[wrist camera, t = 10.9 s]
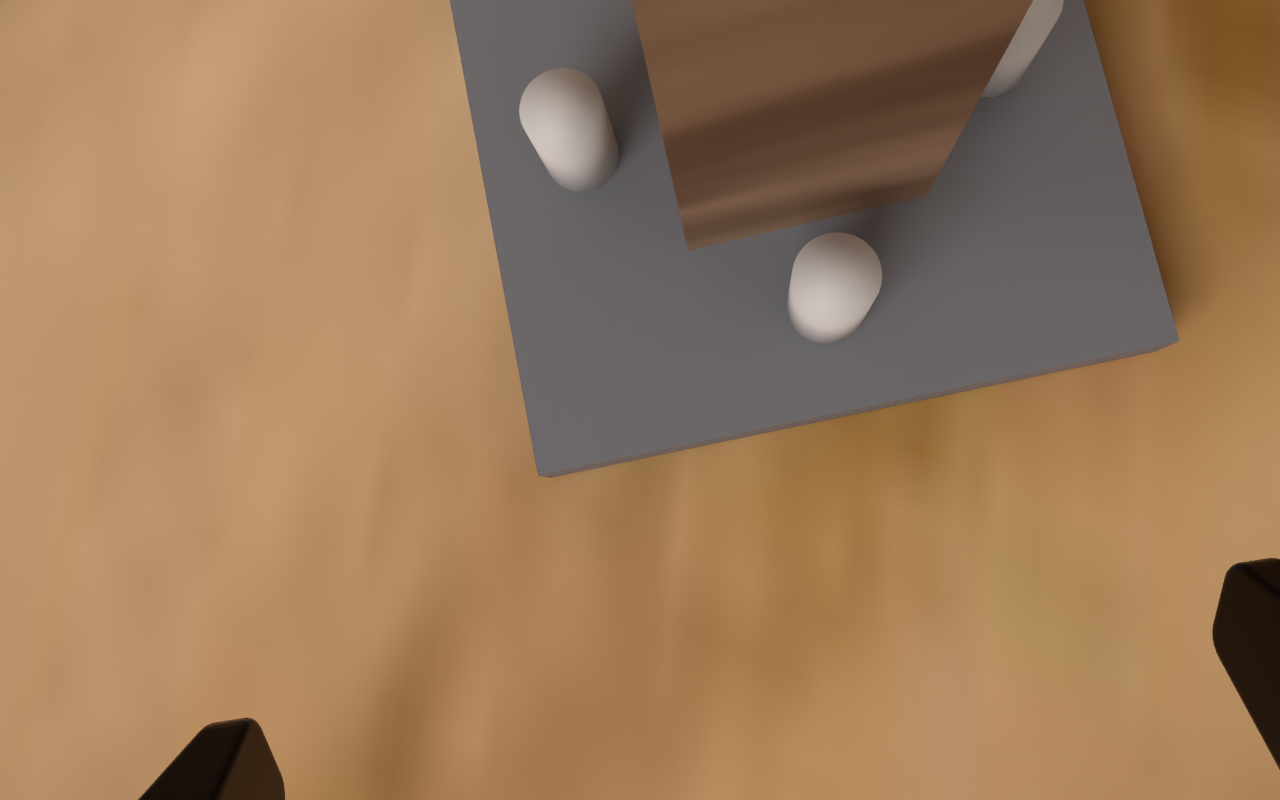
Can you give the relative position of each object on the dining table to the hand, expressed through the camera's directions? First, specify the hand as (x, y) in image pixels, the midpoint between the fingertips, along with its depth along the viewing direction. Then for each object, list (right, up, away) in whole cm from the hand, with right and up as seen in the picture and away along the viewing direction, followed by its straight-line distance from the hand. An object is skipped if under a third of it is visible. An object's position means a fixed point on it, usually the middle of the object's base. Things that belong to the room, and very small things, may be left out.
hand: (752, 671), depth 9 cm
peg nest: (+2, +9, +13) cm, 16 cm away
